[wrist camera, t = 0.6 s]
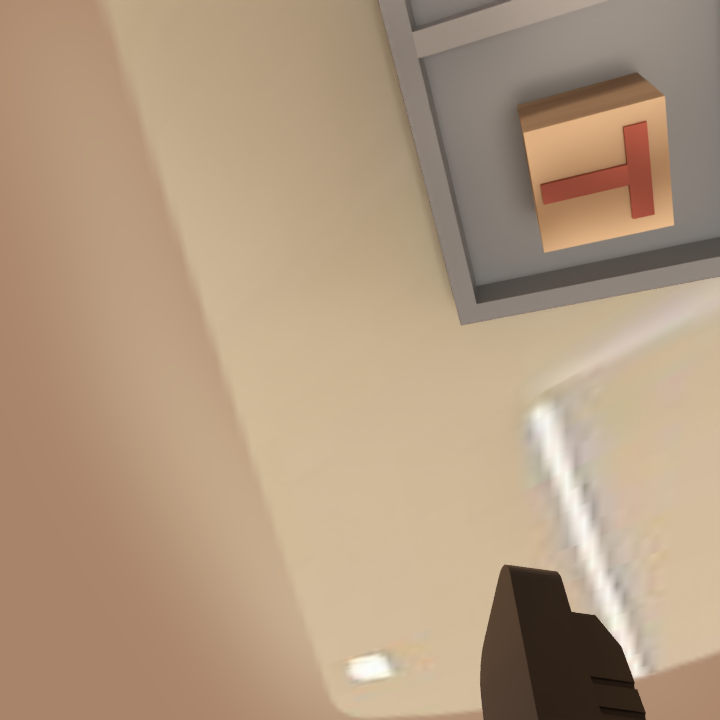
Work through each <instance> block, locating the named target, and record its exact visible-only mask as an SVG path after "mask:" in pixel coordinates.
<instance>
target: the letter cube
mask: <svg viewBox="0 0 720 720" xmlns="http://www.w3.org/2000/svg"><path fill="white" fill-rule="evenodd" d="M517 109H518V114H519V120H520V126H521V131H522V137H523V143H524V149H525V154H526V160H527V166H528V171H529V177H530V183H531V188H532V194H533V200H534V206H535V211H536V216H537V221H538V225H539V230H540V235H541V240H542V244H543V249H544V253H545V252H550V251H555V250H559V249H564V248H569V247H574V246H578V245H583V244H588V243H593V242H597V241H602V240H607V239H611V238H616V237H621V236H626V235H630V234H635V233H640V232H645V231H649V230H654V229H659V228H663V227H668V226H673V225H674V217H673V203H672V189H671V174H670V160H669V146H668V132H667V117H666V103H665V95H663V94H662V93H661V92H660V91H659V90H658V89H656V88H655V87H654V86H653V85H652V84H650V83H649V82H648V81H647V80H646V79H644V78H643V77H642V76H641V75H640V74H639V73H637V72H636V73H632V74H629V75H625V76H621V77H618V78H614V79H610V80H607V81H603V82H600V83H596V84H592V85H589V86H585V87H581V88H578V89H574V90H570V91H567V92H563V93H560V94H556V95H552V96H549V97H545V98H541V99H538V100H534V101H530V102H527V103H523V104H519V105H517Z"/></svg>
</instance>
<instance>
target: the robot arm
mask: <svg viewBox="0 0 720 720" xmlns="http://www.w3.org/2000/svg"><path fill="white" fill-rule="evenodd" d="M634 683H635V682H634V680H633V677H632V674H631V671H630V669H629V666H628V663H627V661H626V658H625V655H624V652H623V650H622V647H621V646H620V645H619V643H618V642H617V641H616V640H615V639H614V637H613V636H612V635H611V634H610V632H609V631H608V630H607V629H606V628H605V626H604V625H603V624H602V623H601V622H600V620H599V619H598V618H597V617H596V616H595V615H590V614H582V613H575V612H571V609H570V606H569V602H568V599H567V595H566V592H565V589H564V585H563V582H562V579H561V576H560V575H559V573H558V572H556V571H549V570H542V569H534V568H527V567H519V566H512V565H504V566H503V567H502V569H501V572H500V575H499V579H498V583H497V587H496V592H495V596H494V601H493V605H492V609H491V614H490V618H489V622H488V627H487V631H486V635H485V640H484V644H483V650H482V658H481V671H480V687H481V699H482V709H483V718H484V720H646V719H645V710H644V707H643V705H642V702H641V699H640V696H639V693H638V691H637V690H636V689H635V688H634Z"/></svg>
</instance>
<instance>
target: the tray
mask: <svg viewBox="0 0 720 720" xmlns="http://www.w3.org/2000/svg"><path fill="white" fill-rule="evenodd" d="M378 2H379V6H380V10H381V13H382V17H383V21H384V25H385V29H386V33H387V37H388V41H389V45H390V49H391V53H392V57H393V61H394V65H395V68H396V72H397V76H398V80H399V84H400V88H401V92H402V96H403V100H404V104H405V108H406V112H407V116H408V120H409V123H410V127H411V131H412V135H413V139H414V143H415V147H416V151H417V155H418V159H419V163H420V167H421V171H422V175H423V179H424V182H425V186H426V190H427V194H428V198H429V202H430V206H431V210H432V214H433V218H434V222H435V226H436V230H437V234H438V237H439V241H440V245H441V249H442V253H443V257H444V261H445V265H446V269H447V273H448V277H449V281H450V285H451V289H452V292H453V296H454V300H455V304H456V308H457V312H458V316H459V320H460V324H461V325H466V324H471V323H476V322H482V321H487V320H492V319H497V318H503V317H508V316H513V315H519V314H524V313H529V312H535V311H540V310H545V309H551V308H556V307H561V306H566V305H572V304H577V303H582V302H588V301H593V300H598V299H604V298H609V297H614V296H620V295H625V294H630V293H635V292H641V291H646V290H651V289H657V288H662V287H667V286H673V285H678V284H683V283H689V282H694V281H699V280H704V279H710V278H715V277H720V0H378ZM636 72H637V73H639V74H640V75H641V76H642V77H643V78H644V79H646V80H647V81H648V82H649V83H650V84H652V85H653V86H654V87H655V88H656V89H658V90H659V91H660V92H661V93H662V94H663V95H665V103H666V117H667V132H668V146H669V160H670V174H671V189H672V203H673V217H674V225H673V226H668V227H663V228H659V229H654V230H649V231H645V232H640V233H635V234H630V235H626V236H621V237H616V238H611V239H607V240H602V241H597V242H593V243H588V244H583V245H578V246H574V247H569V248H564V249H559V250H555V251H550V252H545V253H544V249H543V244H542V240H541V235H540V230H539V225H538V221H537V216H536V211H535V206H534V200H533V194H532V188H531V183H530V177H529V171H528V166H527V160H526V154H525V149H524V143H523V137H522V131H521V126H520V120H519V114H518V109H517V105H519V104H523V103H527V102H530V101H534V100H538V99H541V98H545V97H549V96H552V95H556V94H560V93H563V92H567V91H570V90H574V89H578V88H581V87H585V86H589V85H592V84H596V83H600V82H603V81H607V80H610V79H614V78H618V77H621V76H625V75H629V74H632V73H636Z"/></svg>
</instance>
